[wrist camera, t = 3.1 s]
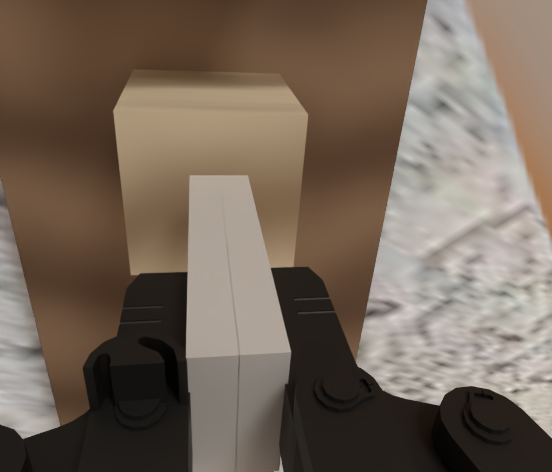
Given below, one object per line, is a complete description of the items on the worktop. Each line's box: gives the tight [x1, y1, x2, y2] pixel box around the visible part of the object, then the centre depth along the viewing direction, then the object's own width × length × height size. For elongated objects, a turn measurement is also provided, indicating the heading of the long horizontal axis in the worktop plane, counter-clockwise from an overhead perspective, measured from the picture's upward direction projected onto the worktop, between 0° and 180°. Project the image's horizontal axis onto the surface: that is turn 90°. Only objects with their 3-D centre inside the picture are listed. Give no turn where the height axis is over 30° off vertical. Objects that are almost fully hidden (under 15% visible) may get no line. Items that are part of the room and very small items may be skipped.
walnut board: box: [0, 0, 427, 426], centre depth 19 cm, size 34×15×2 cm, turn 176°
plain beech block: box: [113, 69, 308, 275], centre depth 16 cm, size 5×5×5 cm
